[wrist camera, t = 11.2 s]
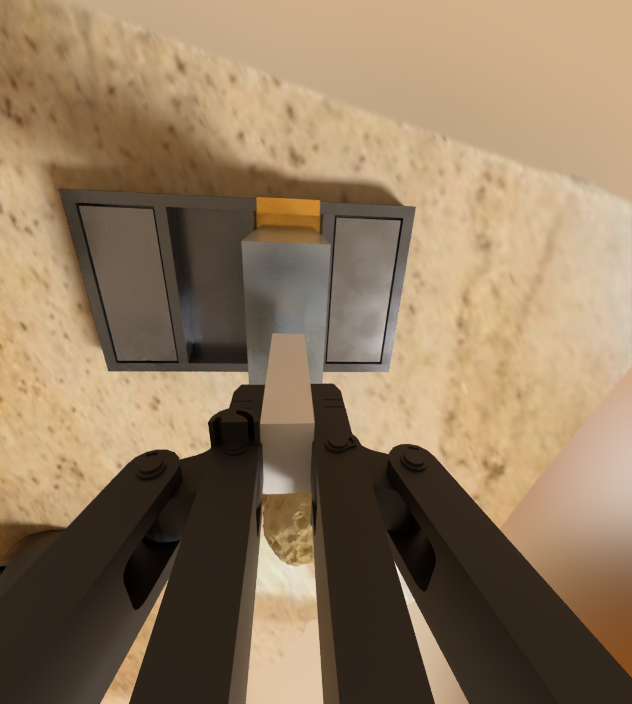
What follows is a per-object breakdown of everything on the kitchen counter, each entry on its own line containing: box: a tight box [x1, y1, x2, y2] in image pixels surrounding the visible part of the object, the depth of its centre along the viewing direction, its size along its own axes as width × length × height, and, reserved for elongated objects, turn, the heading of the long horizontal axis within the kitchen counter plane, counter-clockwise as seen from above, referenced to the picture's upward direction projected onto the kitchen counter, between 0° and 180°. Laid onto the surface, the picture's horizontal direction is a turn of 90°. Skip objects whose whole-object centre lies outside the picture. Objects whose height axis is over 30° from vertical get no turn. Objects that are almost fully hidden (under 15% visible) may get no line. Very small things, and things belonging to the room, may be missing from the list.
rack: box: [59, 189, 416, 372], centre depth 26 cm, size 25×14×3 cm, turn 87°
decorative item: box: [263, 493, 314, 566], centre depth 36 cm, size 10×10×10 cm
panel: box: [241, 224, 331, 385], centre depth 22 cm, size 4×10×12 cm, turn 177°
